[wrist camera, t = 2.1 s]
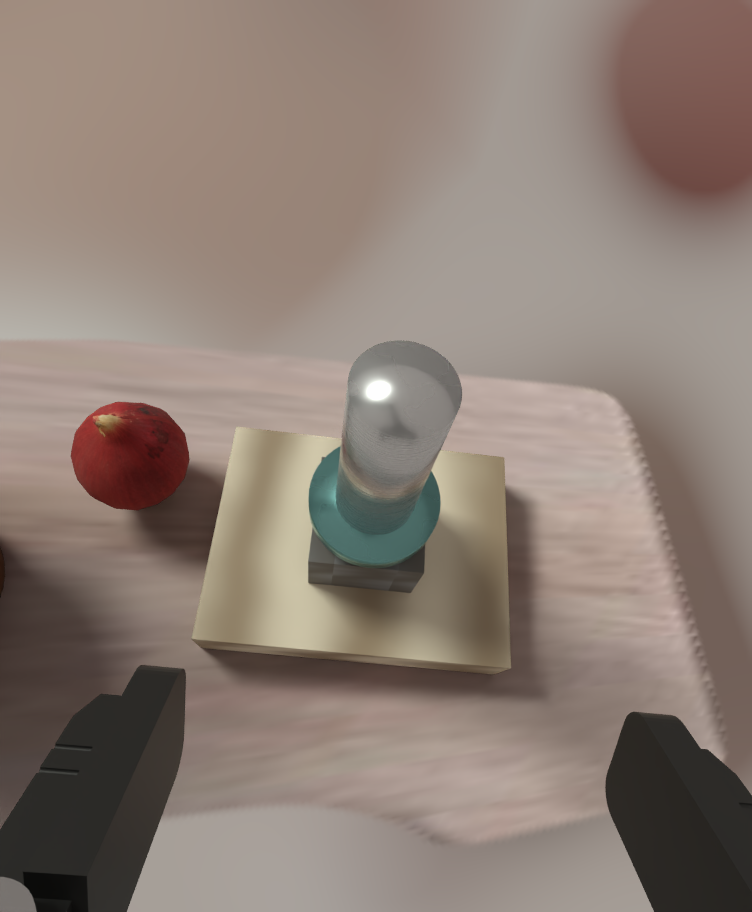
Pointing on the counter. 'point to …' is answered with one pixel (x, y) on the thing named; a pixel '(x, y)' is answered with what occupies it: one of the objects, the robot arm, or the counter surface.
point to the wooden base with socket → (355, 568)
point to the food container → (2, 571)
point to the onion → (130, 455)
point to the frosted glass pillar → (386, 456)
